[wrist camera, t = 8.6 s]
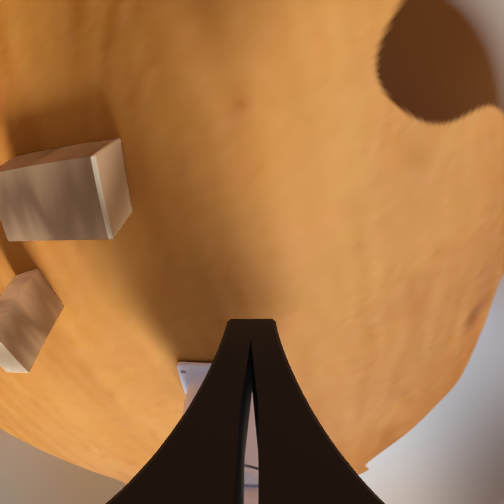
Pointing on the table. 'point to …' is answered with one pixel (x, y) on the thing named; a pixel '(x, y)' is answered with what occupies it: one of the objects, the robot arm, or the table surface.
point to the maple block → (26, 320)
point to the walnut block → (65, 193)
